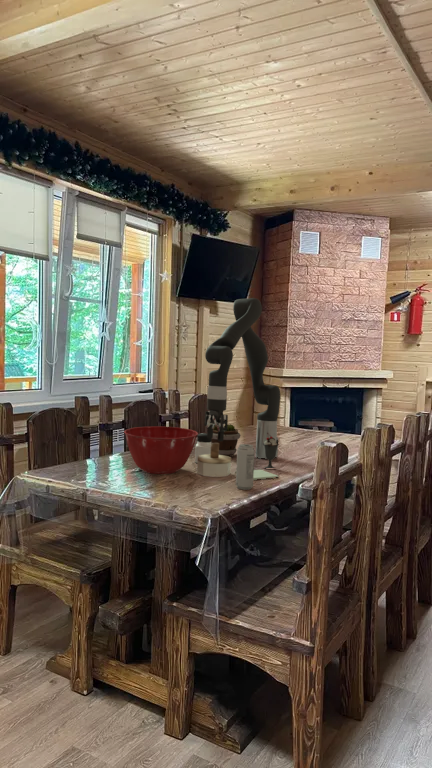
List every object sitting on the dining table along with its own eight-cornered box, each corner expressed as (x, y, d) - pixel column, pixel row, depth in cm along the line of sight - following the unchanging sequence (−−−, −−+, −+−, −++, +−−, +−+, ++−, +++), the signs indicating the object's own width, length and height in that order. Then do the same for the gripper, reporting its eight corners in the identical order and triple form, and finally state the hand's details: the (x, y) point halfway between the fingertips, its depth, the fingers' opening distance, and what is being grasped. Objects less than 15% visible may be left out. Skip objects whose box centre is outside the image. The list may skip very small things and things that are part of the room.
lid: (220, 456, 222) (221, 440, 222) (237, 462, 211) (238, 445, 211) (191, 458, 216) (192, 441, 216) (207, 464, 205) (208, 446, 204)
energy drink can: (242, 484, 197) (244, 443, 196) (256, 488, 193) (258, 445, 192) (232, 487, 192) (234, 444, 191) (246, 490, 188) (248, 447, 187)
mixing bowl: (185, 481, 198) (187, 439, 197) (111, 474, 204) (112, 433, 203) (203, 466, 226) (205, 429, 225) (137, 461, 231) (138, 424, 231)
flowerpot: (245, 454, 256) (247, 412, 255) (228, 459, 243) (230, 414, 242) (218, 450, 264) (220, 409, 263) (200, 455, 251) (202, 411, 250)
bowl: (219, 469, 222) (220, 456, 222) (234, 475, 212) (235, 462, 211) (193, 471, 216) (193, 458, 216) (207, 477, 206) (207, 464, 205)
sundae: (259, 468, 226) (261, 432, 226) (265, 466, 232) (267, 430, 232) (274, 470, 223) (276, 434, 223) (280, 468, 229) (282, 432, 228)
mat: (261, 471, 221) (261, 469, 221) (278, 478, 210) (278, 475, 210) (235, 473, 215) (235, 471, 215) (252, 480, 205) (252, 478, 205)
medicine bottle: (211, 463, 233) (212, 435, 232) (194, 462, 233) (195, 434, 232) (212, 460, 240) (213, 433, 239) (195, 459, 240) (196, 432, 239)
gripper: (234, 399, 208) (232, 442, 209) (216, 396, 220) (214, 436, 221) (217, 399, 204) (215, 442, 205) (199, 396, 217) (197, 437, 217)
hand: (214, 439), depth 213 cm, fingers open, 8 cm apart
